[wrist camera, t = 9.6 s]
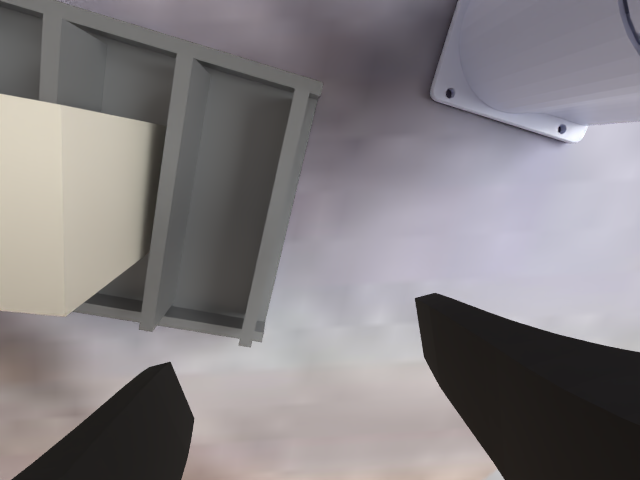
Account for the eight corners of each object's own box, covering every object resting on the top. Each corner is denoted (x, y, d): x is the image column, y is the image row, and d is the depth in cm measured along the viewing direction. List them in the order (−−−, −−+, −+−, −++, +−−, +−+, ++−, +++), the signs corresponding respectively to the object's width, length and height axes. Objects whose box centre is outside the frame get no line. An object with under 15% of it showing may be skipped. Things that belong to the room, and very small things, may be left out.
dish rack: (319, 88, 17) (330, 70, 13) (263, 325, 20) (258, 366, 16) (-23, -16, 14) (-134, -76, 11) (-25, 276, 18) (-110, 311, 14)
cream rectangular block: (167, 126, 16) (61, 104, 8) (160, 243, 17) (64, 317, 10) (112, 116, 16) (-53, 83, 8) (110, 236, 17) (-31, 308, 9)
